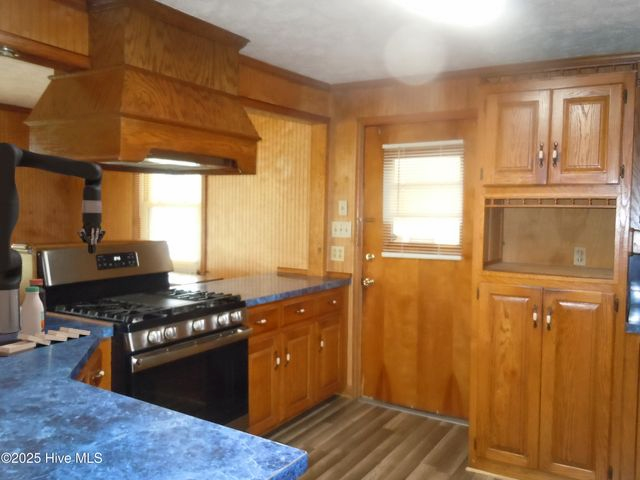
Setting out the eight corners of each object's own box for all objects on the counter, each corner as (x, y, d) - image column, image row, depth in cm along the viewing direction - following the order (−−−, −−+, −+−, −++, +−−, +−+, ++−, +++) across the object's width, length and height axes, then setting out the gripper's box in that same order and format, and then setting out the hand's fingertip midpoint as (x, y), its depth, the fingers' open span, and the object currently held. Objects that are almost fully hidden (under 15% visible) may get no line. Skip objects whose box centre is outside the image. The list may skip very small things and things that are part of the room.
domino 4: (66, 341, 199) (44, 339, 190) (56, 339, 201) (34, 337, 192) (67, 336, 200) (45, 334, 191) (57, 335, 201) (35, 333, 192)
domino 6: (89, 335, 209) (68, 332, 200) (80, 334, 211) (59, 331, 202) (90, 331, 209) (69, 328, 200) (81, 330, 211) (60, 326, 203)
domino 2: (33, 351, 186) (8, 358, 177) (23, 350, 188) (-3, 356, 179) (33, 346, 186) (8, 353, 177) (23, 345, 188) (-3, 352, 179)
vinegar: (29, 325, 225) (28, 278, 224) (47, 324, 227) (46, 278, 226) (26, 329, 219) (25, 280, 218) (44, 328, 221) (43, 280, 220)
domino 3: (49, 345, 193) (27, 339, 184) (39, 343, 195) (17, 338, 186) (50, 341, 193) (29, 335, 185) (40, 339, 195) (18, 333, 186)
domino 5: (78, 338, 204) (56, 335, 196) (69, 336, 206) (47, 334, 198) (79, 333, 205) (57, 331, 196) (70, 332, 207) (48, 330, 198)
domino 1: (35, 346, 187) (9, 353, 178) (25, 344, 189) (-1, 351, 180) (35, 341, 187) (9, 348, 178) (25, 340, 189) (-1, 346, 180)
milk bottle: (37, 342, 197) (36, 288, 196) (16, 341, 198) (15, 288, 197) (48, 337, 205) (47, 285, 204) (28, 336, 205) (27, 285, 204)
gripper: (98, 211, 227) (97, 252, 227) (72, 211, 214) (71, 254, 215) (111, 212, 223) (110, 253, 224) (85, 211, 211) (85, 255, 212)
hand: (91, 253), depth 220 cm, fingers closed
